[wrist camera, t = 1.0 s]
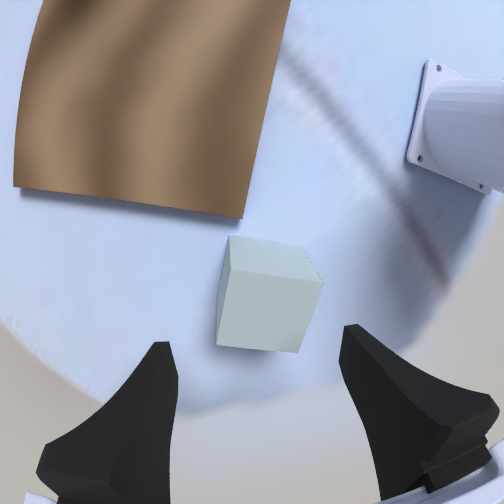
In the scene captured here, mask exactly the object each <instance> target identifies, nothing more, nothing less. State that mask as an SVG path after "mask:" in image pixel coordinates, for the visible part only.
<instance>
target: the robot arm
mask: <svg viewBox="0 0 504 504" xmlns="http://www.w3.org/2000/svg"><path fill="white" fill-rule="evenodd" d="M436 66H437V67H438V71H437V69H436ZM419 155H420V161H418V160H417V159H418V156H419ZM407 160H408V161H409V162H410V163H412V164H415V165H418V166H420V167H423V168H425V169H428V170H430V171H433V172H435V173H438V174H440V175H443V176H445V177H447V178H450V179H452V180H454V181H457V182H459V183H461V184H464V185H466V186H468V187H470V188H472V189H475V190H477V191H479V192H481V193H483V194H485V195H489V194H490V193H491V190H492V189H494V190H497V191H499V192H502V193H504V79H466V78H464V77H463V76H461V75H459V74H458V73H456V72H455V71H453V70H451V69H450V68H448V67H446V66H445V65H443V64H441V63H440V62H438V61H436V60H434V59H428V60H426V63H425V69H424V75H423V81H422V86H421V92H420V97H419V102H418V107H417V112H416V117H415V121H414V126H413V130H412V135H411V139H410V143H409V147H408V151H407ZM479 186H480V187H479ZM339 365H340V368H341V372H342V375H343V378H344V382H345V384H346V386H347V388H348V391H349V393H350V395H351V397H352V399H353V402H354V404H355V406H356V409H357V411H358V413H359V415H360V417H361V420H362V422H363V425H364V428H365V431H366V434H367V438H368V441H369V445H370V448H371V452H372V456H373V460H374V464H375V469H376V474H377V478H378V484H379V490H380V497H381V502H378V503H375V504H499V503H501V502H502V501H503V500H504V439H503V440H501V441H499V442H498V443H496V444H495V445H493V446H492V447H491V448H489V449H487V448H486V446H485V445H486V443H488V442H487V441H488V440H487V439H486V437H485V434H486V433H487V432H488V430H489V429H490V428H491V427H492V425H493V424H494V423H495V421H496V419H497V418H498V415H499V411H500V410H499V408H498V406H497V405H496V403H495V402H494V401H493V399H492V398H491V396H490V395H489V394H484V393H480V392H475V391H471V390H467V389H464V388H461V387H458V386H455V385H452V384H449V383H447V382H445V381H442V380H440V379H438V378H435V377H433V376H431V375H429V374H427V373H425V372H424V371H422V370H420V369H418V368H416V367H415V366H413V365H411V364H410V363H408V362H407V361H405V360H404V359H402V358H401V357H399V356H398V355H397V354H395V353H394V352H393V351H391V350H390V349H388V348H387V347H386V346H385V345H383V344H382V343H381V342H379V341H378V340H377V339H376V338H375V337H373V336H372V335H371V334H370V333H368V332H367V331H366V330H365V329H363V328H362V327H361V326H360V325H358V324H354V325H348V326H344V331H343V338H342V344H341V350H340V356H339ZM177 398H178V373H177V370H176V366H175V362H174V359H173V355H172V351H171V347H170V343H169V341H167V342H154V343H153V345H152V346H151V347H150V349H149V350H148V352H147V353H146V355H145V356H144V358H143V359H142V360H141V362H140V363H139V365H138V366H137V367H136V369H135V370H134V371H133V373H132V374H131V375H130V377H129V378H128V379H127V380H126V382H125V383H124V384H123V385H122V386H121V388H120V389H119V390H118V391H117V392H116V393H115V394H114V395H113V397H112V398H111V399H110V400H109V401H108V402H107V403H106V404H105V405H104V406H102V408H100V409H99V410H98V411H97V412H96V413H94V414H93V415H92V416H91V417H90V418H88V419H87V420H86V421H84V422H83V423H82V424H80V425H79V426H77V427H76V428H75V429H73V430H71V431H70V432H68V433H67V434H65V435H63V436H61V437H59V438H58V439H56V440H54V441H52V442H50V443H48V444H46V445H45V447H44V450H43V452H42V455H41V458H40V461H39V464H38V467H37V470H36V474H37V476H38V477H39V479H40V480H41V481H42V482H43V483H44V484H45V485H47V487H49V488H50V489H51V490H52V491H53V492H55V493H56V494H57V495H58V496H59V497H58V502H56V501H54V500H52V499H50V498H47V497H43V496H41V495H38V494H35V493H32V492H27V493H26V496H25V499H24V503H23V504H170V480H169V479H170V476H169V475H170V473H169V465H170V464H169V463H170V442H171V435H172V429H173V423H174V417H175V410H176V404H177Z"/></svg>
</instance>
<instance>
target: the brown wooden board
mask: <svg viewBox="0 0 504 504" xmlns="http://www.w3.org/2000/svg"><path fill="white" fill-rule="evenodd" d="M290 2H291V0H44V1H43V4H42V7H41V10H40V13H39V16H38V19H37V22H36V26H35V29H34V33H33V36H32V40H31V44H30V48H29V52H28V57H27V61H26V66H25V71H24V76H23V81H22V87H21V93H20V100H19V107H18V115H17V124H16V135H15V148H14V173H13V187H20V188H29V189H38V190H47V191H55V192H63V193H71V194H79V195H87V196H94V197H102V198H109V199H117V200H124V201H131V202H138V203H145V204H152V205H158V206H165V207H172V208H178V209H185V210H191V211H197V212H204V213H210V214H216V215H222V216H228V217H234V218H240V219H242V218H243V213H244V208H245V203H246V198H247V194H248V189H249V184H250V179H251V175H252V170H253V165H254V161H255V156H256V151H257V147H258V142H259V137H260V133H261V128H262V124H263V119H264V115H265V110H266V106H267V101H268V97H269V92H270V88H271V83H272V79H273V75H274V70H275V66H276V61H277V57H278V53H279V48H280V44H281V40H282V35H283V31H284V27H285V23H286V18H287V14H288V10H289V6H290Z"/></svg>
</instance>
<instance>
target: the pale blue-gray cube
mask: <svg viewBox="0 0 504 504" xmlns="http://www.w3.org/2000/svg"><path fill="white" fill-rule="evenodd" d="M323 283H324V282H323V281H322V279H321V277H320V275H319V274H318V272H317V270H316V268H315V267H314V265H313V263H312V261H311V260H310V258H309V256H308V255H307V253H306V251H305V249H304V248H303V247H301V246H295V245H289V244H283V243H277V242H271V241H265V240H259V239H253V238H247V237H241V236H235V235H229V238H228V243H227V249H226V254H225V259H224V264H223V270H222V275H221V280H220V286H219V291H218V297H217V319H216V345H221V346H230V347H238V348H248V349H258V350H268V351H280V352H293V353H298V351H299V349H300V346H301V344H302V341H303V338H304V336H305V333H306V330H307V328H308V325H309V322H310V320H311V317H312V314H313V311H314V309H315V306H316V303H317V300H318V297H319V294H320V292H321V289H322V286H323Z"/></svg>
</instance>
